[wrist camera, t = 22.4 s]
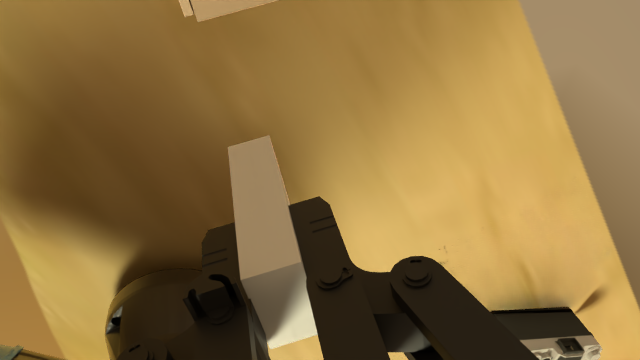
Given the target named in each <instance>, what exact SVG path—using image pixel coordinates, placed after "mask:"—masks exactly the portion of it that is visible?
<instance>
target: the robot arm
mask: <svg viewBox="0 0 640 360" xmlns="http://www.w3.org/2000/svg"><path fill="white" fill-rule="evenodd" d="M228 155H229V166H230V176H231V186H232V197H233V207H234V217H235V222H234V223H231V224H228V225H224V226H221V227H217V228H214V229H211V230H208V232H207V234H206V236H205V238H204V240H203V242H202V257H203V258H202V267H203V268H202V271H199V270H193V269H169V270H162V271H158V272H154V273H151V274H147V275H145V276H142V277H140V278H138V279H136V280H134V281H133V282H131V283H129V284H128V285H127V286H125V287H124V288H123V289H122V290H121V291H120V292H119V293H118V294H117V295H116V297H115V298H114V299H113V301H112V303H111V305H110V308H109V311H108V316H107V321H106V326H105V338H106V343H107V348H108V352H109V356H110V360H271V359H270V357H269V354H268V347H267V342H268V345H269V347H270V349H273V348H276V347H279V346H283V345H286V344H289V343H292V342H296V341H299V340H302V339H305V338H309V337H312V336H315V335H318V337H319V342H320V346H321V350H322V354H323V358H324V360H390V358H389V355H388V353H387V352H404V354H405V355H406V357H407V358H408V359H409V360H540V359H539V358H537V357H536V356H535V355H534V354H533V353H532V352H531V351H530V350H529V349H528V348H527V347H526V346H525V345H524V344H523V343H522V342H521V341H520V340H519V339H518V338H517V337H516V336H515V335H514V334H512V333H511V332H510V331H509V330H508V329H507V328H506V327H505V326H504V325H503V324H502V323H501V322H500V321H499V320H498V319H497V318H496V317H495V316H494V315H493V314H492V313H491V312H490V311H488V310H487V309H486V308H485V307H484V306H483V305H482V304H481V303H480V302H479V301H478V300H477V299H476V298H475V297H474V296H473V295H472V294H471V293H470V292H469V291H468V290H467V289H466V288H465V287H463V286H462V285H461V284H460V283H459V282H458V281H457V280H456V279H455V278H454V277H453V276H452V275H451V274H450V273H449V272H448V271H447V270H446V269H445V268H444V267H443V266H442V265H441V264H439V263H438V262H436V261H435V260H433V259H432V258H428V257H424V256H411V257H408V258H405V259H402V260H401V261H399V262H398V263H397V264H395V265H394V267H393V268H392V270H391V272H380V273H378V272H368V271H364V270H362V269H360V268H358V267H357V266H355V265H354V264H353V263H352V261H351V259H350V258H349V255H348V252H347V250H346V247H345V244H344V242H343V239H342V237H341V234H340V231H339V229H338V226H337V223H336V221H335V218H334V215H333V213H332V210H331V207H330V205H329V204H328V203H327V202H326V201H324V200H323V199H322V198H321V197H316V198H312V199H309V200H305V201H302V202H299V203H295V204H292V205H290V202H289V198H288V194H287V191H286V188H285V185H284V181H283V178H282V175H281V171H280V168H279V165H278V162H277V158H276V155H275V152H274V149H273V145H272V142H271V139H270V136H269V135H268V136H264V137H261V138H257V139H254V140H250V141H247V142H243V143H240V144H236V145H233V146H229V147H228ZM0 360H66V359H62V358H57V357H53V356H49V355H44V354H40V353H36V352H32V351H27V350H23V347H22V346H16V347H10V346H5V345H0Z"/></svg>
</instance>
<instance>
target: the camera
mask: <svg viewBox="0 0 640 360" xmlns="http://www.w3.org/2000/svg"><path fill="white" fill-rule="evenodd" d="M490 312H491V313H492V314H493V315H494V316H495V317H496V318H497V319H498V320H499V321H500V322H501V323H502V324H503V325H504V326H505V327H506V328H507V329H508V330H509V331H510V332H511V333H512V334H514V335H515V336H516V337H517V338H518V339H519V340H520V341H521V342H522V343H523V344H524V345H525V346H526V347H527V348H528V349H529V350H530V351H531V352H532V353H533V354H534V355H535V356H536V357H537V358H539V359H540V360H598V359H599V358H600V352H601V351H602V348H601V346H600V344H599V343H598V342H597V341H596V339H595V338H594V336H593V335H592V333H591V332H589V331H588V330H587V328H586V327H585V326H584V325H583V324H582V322H581V321H580V320H579V319H578V318H577V316H576V315H575V314H574V313H573V311H572V310H571V309H570V308H569V307H552V308H533V309H513V310H494V311H490Z"/></svg>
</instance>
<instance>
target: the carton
mask: <svg viewBox="0 0 640 360" xmlns="http://www.w3.org/2000/svg"><path fill="white" fill-rule="evenodd" d="M275 1H278V0H179V3H180V6H181V8H182V11H183V14H184V17H187V16H191V15H194V13H195V16H196V19H197V21H198V22H201V21H204V20H208V19H212V18H215V17H219V16H223V15H227V14H230V13H234V12H238V11H241V10H245V9H249V8H252V7H256V6H260V5H264V4H267V3H271V2H275Z"/></svg>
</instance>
